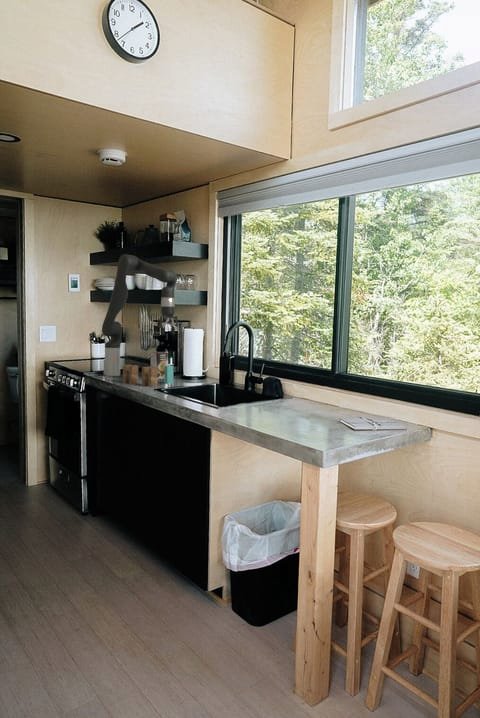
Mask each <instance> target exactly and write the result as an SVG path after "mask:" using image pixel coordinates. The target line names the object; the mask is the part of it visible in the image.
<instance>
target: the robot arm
mask: <svg viewBox="0 0 480 718" xmlns="http://www.w3.org/2000/svg"><path fill="white" fill-rule="evenodd" d="M117 262H118V264H117V268H116V275H115V281H114V284H113V289H112V293H111V295H110V296H111V297H110V301H109V305H108V308H107V311H106V314H105V318H104V320H103V323H102V326H101V333H102V335H103V336H104V337H110V338H109V340H107V341H105V343H104V359H103V376H106V377H118V376H121V344H122V335H123V327H122V324H121V323H120V322H119V321H116V318H117V317H118V314H119V313H120V312H121V310H122V309H123V308H124V307H125V305H126V303H127V300H128V296H129V289H128V285H127V276H128V275H127V274H128V272H140V273H142V274H143V273H144V274H145V275H146V276H147V277H150V278H153V279H155V280H157V281H160V282H162V283H166V284H165V285H166V286H164V287H162V288H161V301H160V314H161V315H158V316H157V323H156V324H157V328H160V330H159V333H160V336H165V327H166V326H167V325H169V326H170V335H175V333H176V332H175V331H176V328H178V323H179V322H178V321H179V320H178V319H179V318H178V316H177V315H175V306H176V305H175V304H176V303H175V289H176V286H177V282H178V276H177V275H178V274H177V272H176V271H174V270H170V269H164V268H163V267H161V266H159V265H155V264H153V263H149V262H146V261H144V260H142V259H140V258H139V257H137V256H136V255H131V254H125V253H124V254H121V256H120V257H119V259H118V261H117Z"/></svg>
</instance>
